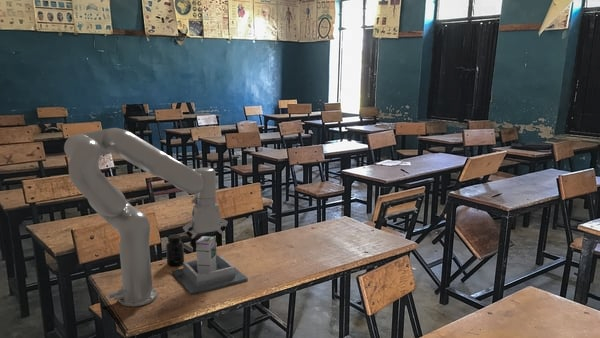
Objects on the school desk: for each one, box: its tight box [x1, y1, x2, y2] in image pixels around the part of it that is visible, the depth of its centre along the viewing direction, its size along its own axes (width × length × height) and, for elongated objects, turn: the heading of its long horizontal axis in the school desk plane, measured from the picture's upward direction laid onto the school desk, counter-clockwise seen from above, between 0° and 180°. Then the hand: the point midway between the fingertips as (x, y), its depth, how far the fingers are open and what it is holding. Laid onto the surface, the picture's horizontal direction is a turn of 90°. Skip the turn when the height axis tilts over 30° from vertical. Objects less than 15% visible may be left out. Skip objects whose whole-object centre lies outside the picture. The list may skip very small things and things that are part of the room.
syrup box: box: [195, 235, 218, 275], centre depth 171 cm, size 6×6×14 cm
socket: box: [171, 253, 249, 296], centre depth 172 cm, size 22×22×5 cm
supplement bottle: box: [165, 234, 185, 268], centre depth 183 cm, size 7×7×12 cm
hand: (206, 245), depth 170 cm, fingers open, 9 cm apart
